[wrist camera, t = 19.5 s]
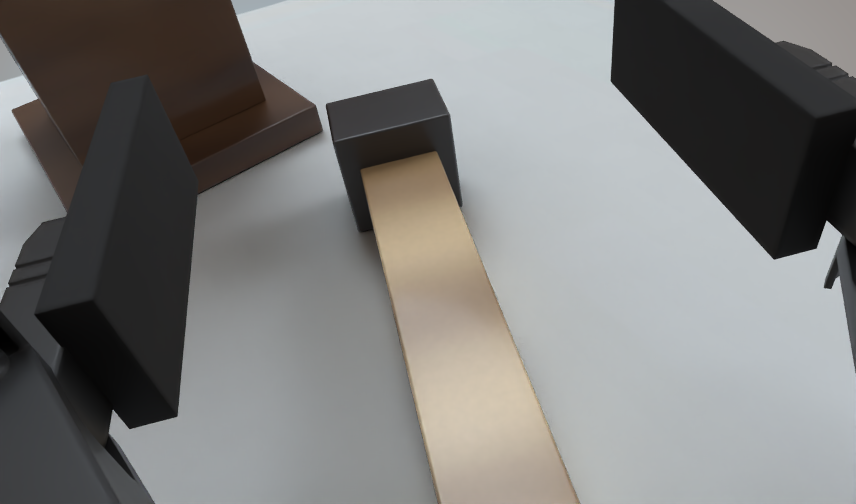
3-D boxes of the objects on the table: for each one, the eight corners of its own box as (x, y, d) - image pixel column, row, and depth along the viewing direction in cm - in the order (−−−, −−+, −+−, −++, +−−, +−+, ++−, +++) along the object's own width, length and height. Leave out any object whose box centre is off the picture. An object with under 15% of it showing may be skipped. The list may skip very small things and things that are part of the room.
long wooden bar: (702, 784, 13) (744, 734, 10) (485, 851, 13) (460, 820, 10) (446, 167, 29) (433, 77, 26) (350, 190, 29) (324, 102, 26)
